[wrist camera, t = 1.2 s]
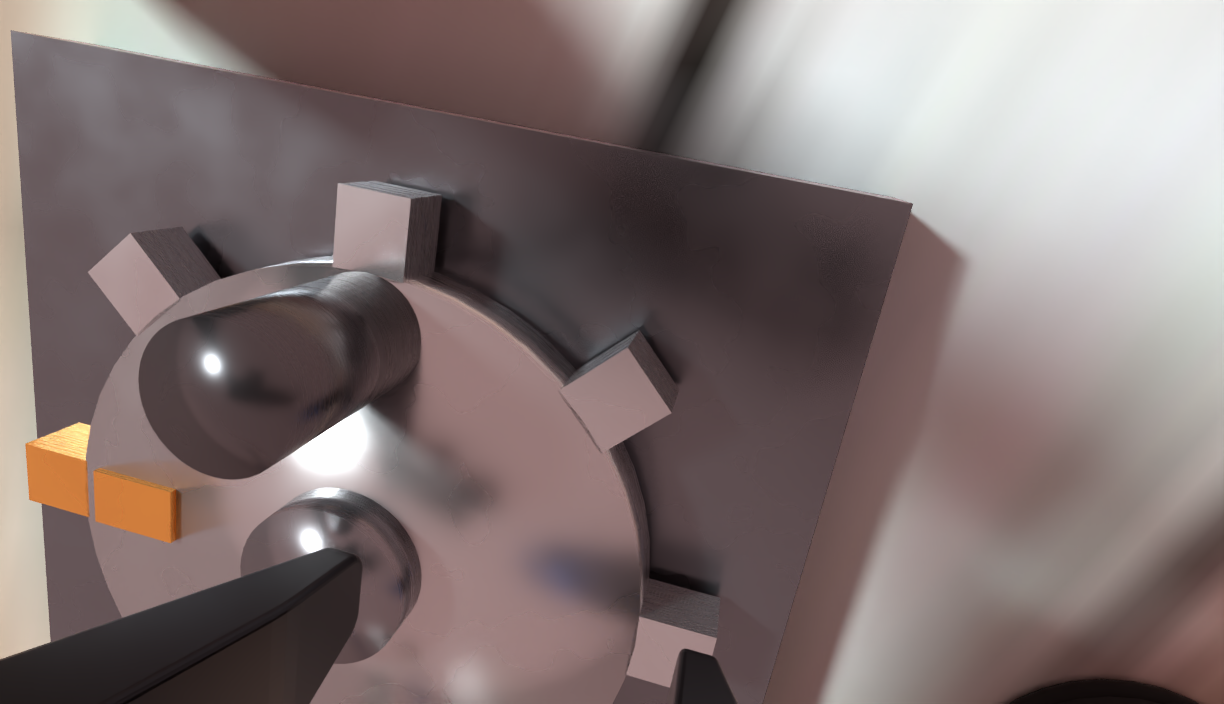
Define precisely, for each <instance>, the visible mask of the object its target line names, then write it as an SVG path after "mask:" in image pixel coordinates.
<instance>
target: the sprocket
mask: <svg viewBox="0 0 1224 704" xmlns="http://www.w3.org/2000/svg"><path fill="white" fill-rule="evenodd" d="M441 203H442V195H441V194H436V193H431V192H426V191H422V190H417V189H412V188H407V187H402V186H398V185H393V184H388V183H383V182H378V181H366V182H351V183H338V188H337V203H336V219H335V235H334V250H333V256H324V257H316V258H309V259H302V260H294V261H289V262H285V263H280V264H276V265H272V266H267V267H263V268H259V269H254V270H250V271H246V272H243V273H240V274H236V275H233V276H230V277H226V278H223V279H221V278H220V277H219V275H218V274H217V273H216V271H215V270H214V268H213V267H212V266H211V264H210V263H209V262H208V260H207V259H206V258H205V256H204V255H203V254H202V252H201V251H200V250H199V248H198V247H197V246H196V244H195V243H194V242H193V240H192V239H191V238H190V236H189V235H188V233H187V232H186V231H185V229H184V228H183V227H175V228H167V229H159V230H151V231H143V232H135V233H130V234H129V235H128V236H127V237H125V238H124V239H123V240H122V241H121V242H120V243H119V244H118V245H117V246H116V247H115V248H113V249H112V250H111V251H110V252H109V253H108V254H107V255H106V256H105V257H104V258H103V259H102V260H100V261H99V262H98V263H97V264H96V265H95V266H94V267H93V268H92V269H91V270H90V271H88V273H89V275H90V276H91V277H92V279H93V280H94V281H95V282H96V284H97V285H98V286H99V288H100V289H101V290H102V292H103V293H104V294H105V295H106V297H107V298H108V299H109V301H110V302H111V303H112V305H113V306H114V307H115V309H116V310H117V311H118V312H119V314H120V315H121V316H122V318H123V319H124V320H125V322H126V323H127V324H128V325H129V327H130V328H131V329H132V331H133V332H134V333H135V335H136V336H135V337H134V338H133V339H132V341H131V342H130V344H129V345H128V347H127V348H126V349H125V351H124V352H123V354H122V355H121V356H120V358H119V359H118V361H117V362H116V363H115V365H114V367H113V369H112V371H111V373H110V375H109V377H108V379H107V381H106V383H105V385H104V387H103V389H102V391H101V393H100V396H99V400H98V403H97V406H96V409H95V412H94V416H93V419H92V422H91V425H87V424H83V423H80V422H79V423H77V424H74V425H72V426H69V427H67V428H64V429H62V430H59V431H56V432H54V433H51V434H49V435H46V436H44V437H41V438H39V439H36V440H34V441H31V442H29V443H26V458H27V472H28V486H29V500H32V501H35V502H39V503H42V504H46V505H49V506H52V507H56V508H59V509H63V510H66V511H69V512H73V513H76V514H80V515H83V516H86V517H88V520H89V525H90V529H91V534H92V538H93V542H94V547H95V551H96V555H97V558H98V561H99V564H100V566H101V569H102V572H103V575H104V578H105V581H106V584H107V586H108V588H109V591H110V593H111V595H112V597H113V599H114V601H115V603H116V605H117V608H118V610H119V612H120V614H121V616H122V618H123V617H126V616H129V615H132V614H135V613H137V612H140V611H143V610H146V609H149V608H152V607H155V606H158V605H161V604H164V603H167V602H170V601H172V600H175V599H178V598H181V597H184V596H187V595H190V594H193V593H196V592H199V591H202V590H205V589H207V588H210V587H213V586H216V585H219V584H222V583H225V582H228V581H231V580H234V579H237V578H239V577H242V576H245V575H248V574H251V573H254V572H257V571H260V570H263V569H266V568H269V567H272V566H274V565H277V564H280V563H283V562H286V561H289V560H292V559H295V558H298V557H301V556H304V555H307V554H309V553H312V552H315V551H318V550H321V549H324V548H335V549H339V550H342V551H346V552H349V553H353V554H356V555H358V556H359V557H360V559H361V560H362V566H363V570H362V581H361V592H360V604H359V614H358V619H357V622H356V625H355V628H354V630H353V632H352V634H351V636H350V638H349V639H348V641H347V643H346V644H345V646H344V648H343V649H342V651H341V653H340V654H339V656H338V658H337V659H336V661H335V663H334V664H333V666H332V668H331V669H330V671H329V673H328V674H327V676H326V678H325V679H324V681H323V683H322V684H321V686H320V688H319V689H318V691H317V693H316V694H315V696H314V698H313V699H312V701H311V703H310V704H613V702H614V700H615V698H616V696H617V694H618V692H619V690H620V688H621V686H622V684H623V682H624V680H625V677H626V675H628V676H632V677H635V678H639V679H642V680H645V681H649V682H652V683H656V684H659V685H662V686H666V687H669V688H670V685H671V681H672V677H673V673H674V669H675V665H676V662H677V658H678V655H679V652H680V651H681V650H682V649H684V648H685V649H690V650H694V651H697V652H701V653H704V654H708V655H711V656H712V655H713V651H714V647H715V644H716V640H717V631H718V619H719V606H720V598H719V597H716V596H712V595H708V594H705V593H701V592H697V591H694V590H690V589H686V588H683V587H679V586H675V585H672V584H668V583H664V582H661V581H657V580H654V579H650V578H649V575H650V538H649V531H648V524H647V517H646V510H645V503H644V500H643V496H642V493H641V489H640V486H639V482H638V479H637V475H636V472H635V468H634V466H633V463H632V461H631V459H630V457H629V454H628V452H627V450H626V447H625V445H624V443H623V441H624V440H626V439H627V438H629V437H631V436H633V435H634V434H636V433H638V432H639V431H641V430H643V429H645V428H646V427H648V426H650V425H652V424H653V423H655V422H657V421H659V420H660V419H662V418H664V417H666V416H667V415H669V414H671V413H672V410H673V407H674V404H675V401H676V398H677V395H678V392H679V388H678V387H677V385H676V384H675V382H674V381H673V379H672V378H671V377H670V375H669V374H668V372H667V371H666V369H665V368H664V366H663V365H662V363H661V362H660V360H659V359H658V357H657V356H656V354H655V353H654V351H653V350H652V348H651V347H650V345H649V344H648V342H647V341H646V339H645V338H644V336H643V335H642V333H641V332H640V330H639V331H637V332H636V333H634V334H632V335H631V336H629V337H628V338H626V339H624V340H623V341H621V342H620V343H618V344H616V345H615V346H613V347H612V348H610V349H609V350H607V351H605V352H604V353H602V354H601V355H599V356H597V357H596V358H594V359H593V360H591V361H589V362H588V363H586V364H585V365H583V366H581V367H580V368H578V369H577V370H576V368H575V367H574V366H573V365H572V364H571V363H570V362H569V361H568V360H567V359H566V358H565V357H564V356H563V355H562V354H561V353H560V352H559V351H558V350H557V349H556V348H555V347H554V346H553V345H552V344H551V343H550V342H549V341H548V340H547V339H546V338H545V337H544V336H543V335H542V334H540V333H539V332H538V331H537V330H535V329H534V328H533V327H532V326H530V325H529V324H528V323H526V322H525V321H524V320H523V319H521V318H520V317H519V316H517V315H516V314H515V313H514V312H512V311H511V310H509V309H508V308H506V307H504V306H503V305H501V304H499V303H498V302H496V301H494V300H493V299H491V298H489V297H488V296H486V295H484V294H483V293H481V292H479V291H478V290H476V289H474V288H471V287H469V286H467V285H465V284H462V283H460V282H458V281H456V280H453V279H451V278H449V277H447V276H444V275H442V274H440V273H437V272H434V268H435V259H436V249H437V240H438V231H439V221H440V212H441Z"/></svg>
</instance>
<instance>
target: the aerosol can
mask: <svg viewBox="0 0 1224 704" xmlns="http://www.w3.org/2000/svg"><path fill="white" fill-rule="evenodd" d="M1010 704H1198V703H1197V702H1195V701H1193V700H1192V699H1189V698H1187V697H1184V696H1182V695H1179V694H1177V693H1174V692H1172V691H1169V690H1167V689H1164V688H1160V687H1155V686H1151V685H1146V684H1142V683H1137V682H1132V681H1118V680H1103V679H1101V680H1088V681H1076V682H1068V683H1064V684H1060V685H1056V686H1052V687H1047V688H1043V689H1040V690H1038V691H1036V692H1033V693H1031V694H1028V695H1026V696H1024V697H1021V698H1019V699H1016V700H1015V701H1013V702H1012V703H1010Z"/></svg>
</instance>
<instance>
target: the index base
mask: <svg viewBox="0 0 1224 704" xmlns="http://www.w3.org/2000/svg"><path fill="white" fill-rule="evenodd" d="M11 41H12V56H13V71H14V87H15V102H16V117H17V132H18V148H19V163H20V178H21V194H22V209H23V224H24V239H25V255H26V270H27V285H28V301H29V316H30V331H31V346H32V362H33V377H34V392H35V408H36V423H37V438H38V439H39V438H41V437H44V436H46V435H49V434H51V433H54V432H56V431H59V430H62V429H64V428H67V427H69V426H72V425H74V424H77V423H79V422H80V423H83V424H87V425H91V422H92V419H93V416H94V412H95V409H96V406H97V403H98V400H99V396H100V393H101V391H102V389H103V387H104V385H105V383H106V381H107V379H108V377H109V375H110V373H111V371H112V369H113V367H114V365H115V363H116V362H117V361H118V359H119V358H120V356H121V355H122V354H123V352H124V351H125V349H126V348H127V347H128V345H129V344H130V342H131V341H132V339H133V338H134V337H135V336H136V335H135V333H134V332H133V331H132V329H131V328H130V327H129V325H128V324H127V323H126V322H125V320H124V319H123V318H122V316H121V315H120V314H119V312H118V311H117V310H116V309H115V307H114V306H113V305H112V303H111V302H110V301H109V299H108V298H107V297H106V295H105V294H104V293H103V292H102V290H101V289H100V288H99V286H98V285H97V284H96V282H95V281H94V280H93V279H92V277H91V276H90V275H89V273H88V271H90V270H91V269H92V268H93V267H94V266H95V265H96V264H97V263H98V262H99V261H100V260H102V259H103V258H104V257H105V256H106V255H107V254H108V253H109V252H110V251H111V250H112V249H113V248H115V247H116V246H117V245H118V244H119V243H120V242H121V241H122V240H123V239H124V238H125V237H127V236H128V235H129V234H130V233H135V232H143V231H151V230H159V229H167V228H175V227H183V228H184V229H185V231H186V232H187V233H188V235H189V236H190V238H191V239H192V240H193V242H194V243H195V244H196V246H197V247H198V248H199V250H200V251H201V252H202V254H203V255H204V256H205V258H206V259H207V260H208V262H209V263H210V264H211V266H212V267H213V268H214V270H215V271H216V273H217V274H218V275H219V277H220V278H221V279H223V278H226V277H230V276H233V275H236V274H240V273H243V272H246V271H250V270H254V269H259V268H263V267H267V266H272V265H276V264H280V263H285V262H289V261H294V260H302V259H309V258H316V257H324V256H333V250H334V235H335V219H336V203H337V188H338V183H351V182H366V181H378V182H383V183H388V184H393V185H398V186H402V187H407V188H412V189H417V190H422V191H426V192H431V193H436V194H441V195H442V203H441V212H440V221H439V231H438V240H437V249H436V259H435V268H434V272H437V273H440V274H442V275H444V276H447V277H449V278H451V279H453V280H456V281H458V282H460V283H462V284H465V285H467V286H469V287H471V288H474V289H476V290H478V291H479V292H481V293H483V294H484V295H486V296H488V297H489V298H491V299H493V300H494V301H496V302H498V303H499V304H501V305H503V306H504V307H506V308H508V309H509V310H511V311H512V312H514V313H515V314H516V315H517V316H519V317H520V318H521V319H523V320H524V321H525V322H526V323H528V324H529V325H530V326H532V327H533V328H534V329H535V330H537V331H538V332H539V333H540V334H542V335H543V336H544V337H545V338H546V339H547V340H548V341H549V342H550V343H551V344H552V345H553V346H554V347H555V348H556V349H557V350H558V351H559V352H560V353H561V354H562V355H563V356H564V357H565V358H566V359H567V360H568V361H569V362H570V363H571V364H572V365H573V366H574V367H575V368H576V370H577V369H578V368H580V367H581V366H583V365H585V364H586V363H588V362H589V361H591V360H593V359H594V358H596V357H597V356H599V355H601V354H602V353H604V352H605V351H607V350H609V349H610V348H612V347H613V346H615V345H616V344H618V343H620V342H621V341H623V340H624V339H626V338H628V337H629V336H631V335H632V334H634V333H636V332H637V331H639V330H640V332H641V333H642V335H643V336H644V338H645V339H646V341H647V342H648V344H649V345H650V347H651V348H652V350H653V351H654V353H655V354H656V356H657V357H658V359H659V360H660V362H661V363H662V365H663V366H664V368H665V369H666V371H667V372H668V374H669V375H670V377H671V378H672V379H673V381H674V382H675V384H676V385H677V387H678V388H679V392H678V395H677V398H676V401H675V404H674V407H673V410H672V413H671V414H669V415H667V416H666V417H664V418H662V419H660V420H659V421H657V422H655V423H653V424H652V425H650V426H648V427H646V428H645V429H643V430H641V431H639V432H638V433H636V434H634V435H633V436H631V437H629V438H627V439H626V440H624V441H623V443H624V445H625V447H626V450H627V452H628V454H629V457H630V459H631V461H632V463H633V466H634V468H635V472H636V475H637V479H638V482H639V486H640V489H641V493H642V496H643V500H644V503H645V510H646V517H647V524H648V531H649V538H650V575H649V578H650V579H654V580H657V581H661V582H664V583H668V584H672V585H675V586H679V587H683V588H686V589H690V590H694V591H697V592H701V593H705V594H708V595H712V596H716V597H719V598H720V606H719V619H718V631H717V640H716V644H715V647H714V651H713V655H712V656H714V657H715V658H716V659H717V660H718V661H719V663H720V665H721V668H722V670H723V672H724V674H725V676H726V678H727V680H728V683H729V685H730V687H731V689H732V691H733V693H734V695H735V697H736V700H737V702H738V704H763V700H764V697H765V694H766V690H767V687H768V684H769V680H770V677H771V674H772V670H773V667H774V664H775V660H776V657H777V654H778V651H779V647H780V644H781V641H782V637H783V634H784V631H785V627H786V624H787V621H788V617H789V614H790V611H791V607H792V604H793V601H794V597H795V594H796V591H797V587H798V584H799V581H800V577H801V574H802V571H803V567H804V564H805V561H806V557H807V554H808V551H809V548H810V544H811V541H812V538H813V534H814V531H815V528H816V524H817V521H818V518H819V514H820V511H821V508H822V504H823V501H824V498H825V494H826V491H827V488H828V484H829V481H830V478H831V474H832V471H833V468H834V464H835V461H836V458H837V454H838V451H839V448H840V444H841V441H842V438H843V435H844V431H845V428H846V425H847V421H848V418H849V415H850V411H851V408H852V405H853V401H854V398H855V395H856V391H857V388H858V385H859V381H860V378H861V375H862V371H863V368H864V365H865V361H866V358H867V355H868V351H869V348H870V345H871V341H872V338H873V335H874V331H875V328H876V325H877V322H878V318H879V315H880V312H881V308H882V305H883V302H884V298H885V295H886V292H887V288H888V285H889V282H890V278H891V275H892V272H893V268H894V265H895V262H896V258H897V255H898V252H899V248H900V245H901V242H902V238H903V235H904V232H905V228H906V225H907V222H908V219H909V215H910V212H911V209H912V205H913V204H912V203H909V202H906V201H903V200H899V199H896V198H893V197H888V196H883V195H878V194H872V193H867V192H862V191H857V190H852V189H846V188H841V187H836V186H831V185H825V184H820V183H815V182H810V181H805V180H799V179H794V178H789V177H784V176H779V175H773V174H768V173H763V172H758V171H752V170H747V169H742V168H737V167H732V166H726V165H721V164H716V163H711V162H705V161H700V160H695V159H690V158H685V157H679V156H674V155H669V154H664V153H659V152H653V151H648V150H643V149H638V148H632V147H627V146H622V145H617V144H612V143H606V142H601V141H596V140H591V139H586V138H580V137H575V136H570V135H565V134H559V133H554V132H549V131H544V130H539V129H533V128H528V127H523V126H518V125H513V124H507V123H502V122H497V121H492V120H486V119H481V118H476V117H471V116H466V115H460V114H455V113H450V112H445V111H439V110H434V109H429V108H424V107H419V106H413V105H408V104H403V103H398V102H393V101H387V100H382V99H377V98H372V97H366V96H361V95H356V94H351V93H346V92H340V91H335V90H330V89H325V88H320V87H314V86H309V85H304V84H299V83H293V82H288V81H283V80H278V79H273V78H267V77H262V76H257V75H252V74H247V73H241V72H236V71H231V70H226V69H220V68H215V67H210V66H205V65H200V64H194V63H189V62H184V61H179V60H173V59H168V58H163V57H158V56H153V55H147V54H142V53H137V52H132V51H127V50H121V49H116V48H111V47H106V46H100V45H95V44H90V43H84V42H78V41H72V40H66V39H60V38H54V37H48V36H42V35H36V34H30V33H24V32H18V31H12V30H11ZM42 515H43V530H44V545H45V560H46V576H47V591H48V606H49V622H50V637H51V642H53V641H56V640H59V639H61V638H64V637H67V636H70V635H73V634H76V633H79V632H82V631H85V630H88V629H91V628H94V627H97V626H99V625H102V624H105V623H108V622H111V621H114V620H117V619H120V618H122V616H121V614H120V612H119V610H118V608H117V605H116V603H115V601H114V599H113V597H112V595H111V593H110V591H109V588H108V586H107V584H106V581H105V578H104V575H103V572H102V569H101V566H100V564H99V561H98V558H97V555H96V551H95V547H94V542H93V538H92V534H91V529H90V525H89V520H88V517H86V516H83V515H80V514H76V513H73V512H69V511H66V510H63V509H59V508H56V507H52V506H49V505H46V504H42ZM669 689H670V688H669V687H666V686H662V685H659V684H656V683H652V682H649V681H645V680H642V679H639V678H635V677H632V676H628V675H626V677H625V680H624V682H623V684H622V686H621V688H620V690H619V692H618V694H617V696H616V698H615V700H614V702H613V704H666V701H667V697H668V693H669Z"/></svg>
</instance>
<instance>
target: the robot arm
mask: <svg viewBox="0 0 1224 704" xmlns="http://www.w3.org/2000/svg"><path fill="white" fill-rule="evenodd" d="M362 570H363V566H362V560H361V559H360V557H359V556H358V555H356V554H353V553H349V552H346V551H342V550H339V549H335V548H324V549H321V550H318V551H315V552H312V553H309V554H307V555H304V556H301V557H298V558H295V559H292V560H289V561H286V562H283V563H280V564H277V565H274V566H272V567H269V568H266V569H263V570H260V571H257V572H254V573H251V574H248V575H245V576H242V577H239V578H237V579H234V580H231V581H228V582H225V583H222V584H219V585H216V586H213V587H210V588H207V589H205V590H202V591H199V592H196V593H193V594H190V595H187V596H184V597H181V598H178V599H175V600H172V601H170V602H167V603H164V604H161V605H158V606H155V607H152V608H149V609H146V610H143V611H140V612H137V613H135V614H132V615H129V616H126V617H123V618H120V619H117V620H114V621H111V622H108V623H105V624H102V625H99V626H97V627H94V628H91V629H88V630H85V631H82V632H79V633H76V634H73V635H70V636H67V637H64V638H61V639H59V640H56V641H53V642H50V643H47V644H44V645H41V646H38V647H35V648H32V649H29V650H26V651H24V652H21V653H18V654H15V655H12V656H9V657H6V658H3V659H0V704H310V703H311V701H312V699H313V698H314V696H315V694H316V693H317V691H318V689H319V688H320V686H321V684H322V683H323V681H324V679H325V678H326V676H327V674H328V673H329V671H330V669H331V668H332V666H333V664H334V663H335V661H336V659H337V658H338V656H339V654H340V653H341V651H342V649H343V648H344V646H345V644H346V643H347V641H348V639H349V638H350V636H351V634H352V632H353V630H354V628H355V625H356V622H357V619H358V614H359V604H360V592H361V581H362ZM666 704H738V702H737V700H736V697H735V695H734V693H733V691H732V689H731V687H730V685H729V683H728V680H727V678H726V676H725V674H724V672H723V670H722V668H721V665H720V663H719V661H718V660H717V659H716V658H715V657H714V656H711V655H708V654H704V653H701V652H697V651H694V650H690V649H685V648H684V649H682V650H681V651H680V652H679V655H678V658H677V662H676V665H675V669H674V673H673V677H672V681H671V685H670V689H669V693H668V697H667V701H666Z"/></svg>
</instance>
